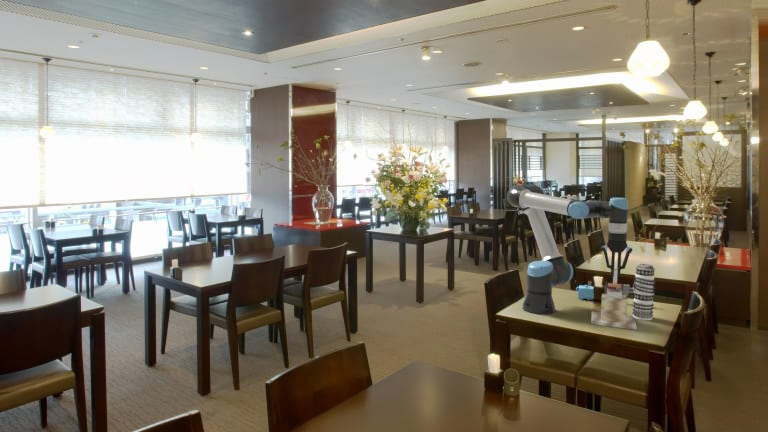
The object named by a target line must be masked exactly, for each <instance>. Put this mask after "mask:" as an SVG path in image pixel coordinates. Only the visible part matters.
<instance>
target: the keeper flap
mask: <svg viewBox="0 0 768 432" xmlns="http://www.w3.org/2000/svg"><path fill="white" fill-rule="evenodd" d="M607 283H608V286H607V287H609V288H610V287H611V288H615V287H619V288H620V289H621V285H620V284H621V283H617V284H613V282H611V283H609V282H607Z"/></svg>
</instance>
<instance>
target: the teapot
mask: <svg viewBox="0 0 768 432" xmlns="http://www.w3.org/2000/svg"><path fill="white" fill-rule="evenodd" d="M575 290H576V295H577V296H578V298H577V299H580V300H581V301H583V300H585V299H586V300H587V301H591V300H594V296H595V295H594V286H591V285H587V284H584V285H580V284H579V286H577V287H576V288H575Z"/></svg>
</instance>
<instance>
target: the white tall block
mask: <svg viewBox="0 0 768 432" xmlns="http://www.w3.org/2000/svg"><path fill="white" fill-rule="evenodd" d="M607 298H614V299H622V290H619V289H617V288H610V287H609V288H608V287H607Z"/></svg>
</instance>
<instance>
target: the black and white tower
mask: <svg viewBox="0 0 768 432" xmlns="http://www.w3.org/2000/svg"><path fill="white" fill-rule="evenodd" d="M635 268H636V269H635V275H633V281H634V282H633V286H632V288H633V287H634V288H635V289H634V293H633V294H634V298H633V302H632V304H633V305H632V307H633V308H632V309H631V310H632V312H631V313H632V315H631V316H634V319H636V320H640V321H641V320H642V321H651V320H653V316H654V315H653V313H654V311H653V309H654V306H655V304H654V295H655V293H656V292H655V290H656V288H655V287H656V280H655V277H656V276H655V270H656V268H654V266H653V265H652V264H648V263H647V264H646V263H640V264H638V265H637V266H635ZM635 286H636V287H635Z"/></svg>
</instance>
